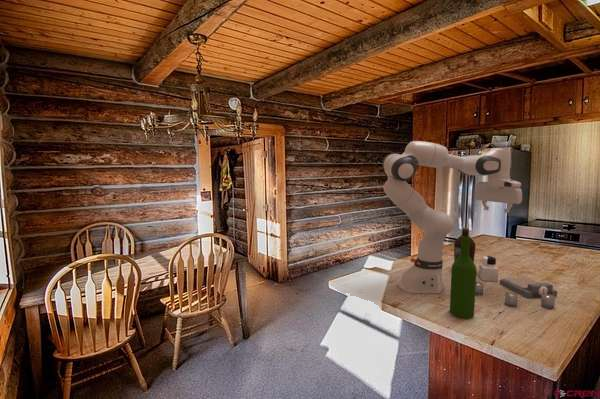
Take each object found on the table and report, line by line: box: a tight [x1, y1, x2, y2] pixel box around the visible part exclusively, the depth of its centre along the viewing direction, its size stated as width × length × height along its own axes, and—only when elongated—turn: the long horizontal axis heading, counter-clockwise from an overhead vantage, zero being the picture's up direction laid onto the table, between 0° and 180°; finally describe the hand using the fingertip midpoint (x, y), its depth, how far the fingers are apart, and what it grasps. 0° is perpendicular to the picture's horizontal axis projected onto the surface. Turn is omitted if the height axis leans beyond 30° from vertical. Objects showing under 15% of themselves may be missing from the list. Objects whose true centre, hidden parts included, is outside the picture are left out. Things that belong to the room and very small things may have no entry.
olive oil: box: [453, 227, 476, 264], centre depth 178 cm, size 11×11×25 cm
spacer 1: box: [475, 281, 485, 297], centre depth 150 cm, size 4×4×5 cm
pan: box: [502, 276, 540, 289], centre depth 155 cm, size 13×12×1 cm
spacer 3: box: [540, 294, 556, 310], centre depth 136 cm, size 4×4×5 cm
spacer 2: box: [504, 291, 519, 308], centre depth 138 cm, size 4×4×5 cm
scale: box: [499, 278, 558, 299], centre depth 153 cm, size 15×18×6 cm
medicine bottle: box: [478, 255, 499, 283], centre depth 168 cm, size 7×7×12 cm
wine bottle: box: [449, 235, 478, 320], centre depth 129 cm, size 9×9×32 cm
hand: (496, 211), depth 152 cm, fingers open, 8 cm apart
